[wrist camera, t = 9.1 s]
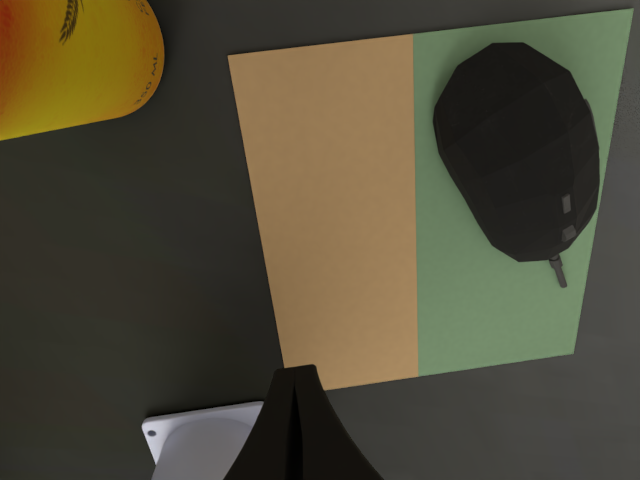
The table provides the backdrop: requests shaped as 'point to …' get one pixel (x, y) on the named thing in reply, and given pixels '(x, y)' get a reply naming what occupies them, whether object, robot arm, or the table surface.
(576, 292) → the desk mat
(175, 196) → the table surface
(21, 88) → the beer can
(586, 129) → the gaming mouse
